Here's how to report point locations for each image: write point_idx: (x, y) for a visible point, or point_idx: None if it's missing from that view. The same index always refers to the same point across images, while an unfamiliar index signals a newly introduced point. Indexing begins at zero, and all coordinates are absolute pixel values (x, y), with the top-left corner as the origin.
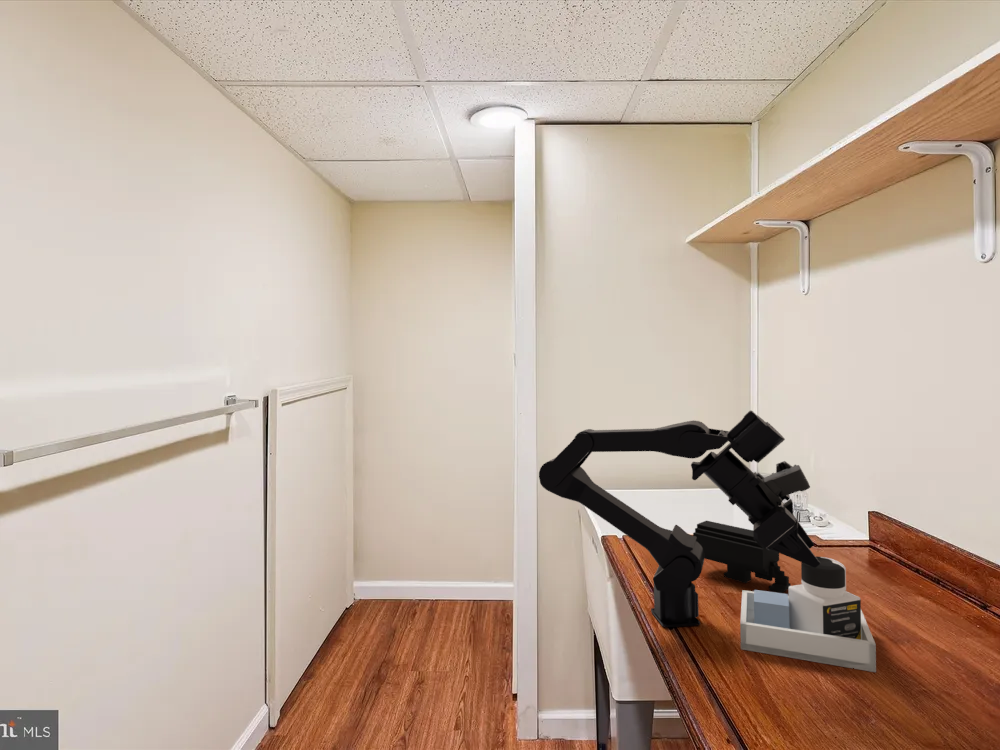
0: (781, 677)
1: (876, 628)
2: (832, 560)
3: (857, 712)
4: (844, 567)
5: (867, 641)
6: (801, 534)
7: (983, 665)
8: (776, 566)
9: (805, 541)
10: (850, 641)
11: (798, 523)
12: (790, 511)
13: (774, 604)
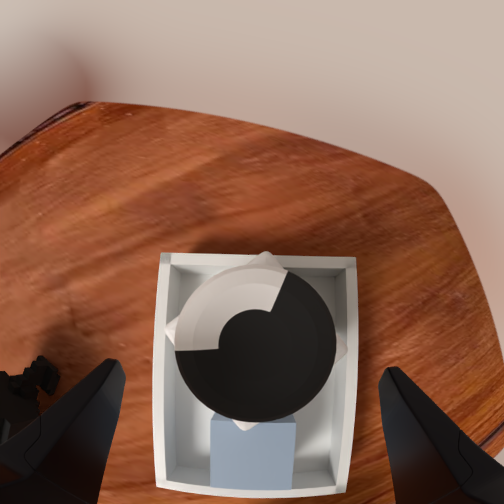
0: None
1: (161, 237)
2: (241, 306)
3: (450, 310)
4: (273, 268)
5: (349, 269)
6: (94, 418)
7: (251, 129)
8: (19, 382)
9: (112, 396)
10: (357, 300)
11: (55, 441)
12: (14, 495)
13: (293, 452)
